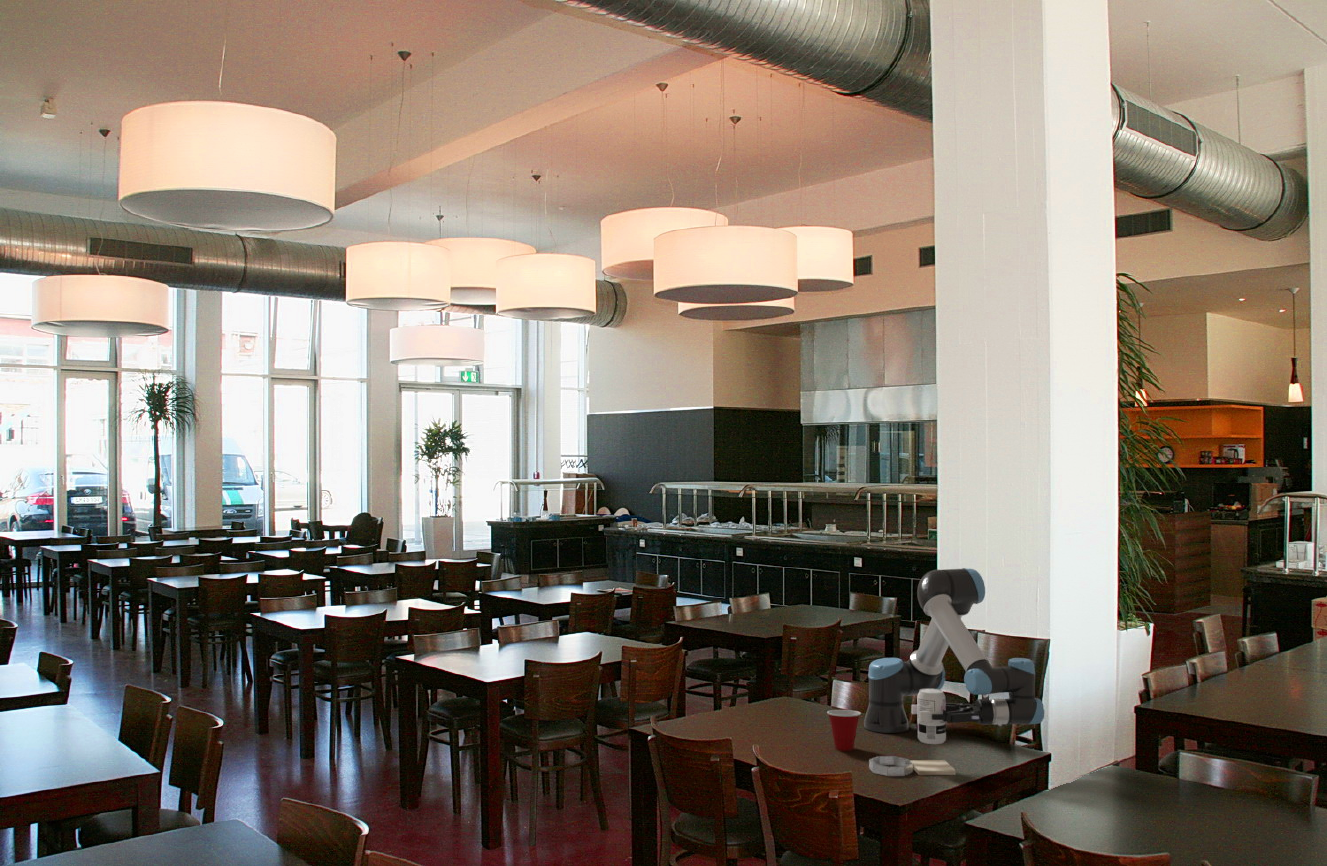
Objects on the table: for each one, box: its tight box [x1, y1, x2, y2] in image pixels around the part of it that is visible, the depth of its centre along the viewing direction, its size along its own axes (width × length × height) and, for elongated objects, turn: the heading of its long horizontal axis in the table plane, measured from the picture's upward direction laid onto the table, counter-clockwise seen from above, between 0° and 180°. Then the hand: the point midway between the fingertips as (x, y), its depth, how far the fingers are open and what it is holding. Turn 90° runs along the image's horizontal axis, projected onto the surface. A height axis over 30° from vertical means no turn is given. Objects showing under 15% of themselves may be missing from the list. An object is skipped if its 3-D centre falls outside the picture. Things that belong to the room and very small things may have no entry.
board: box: [909, 759, 957, 776], centre depth 313 cm, size 11×11×1 cm
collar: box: [868, 755, 914, 777], centre depth 313 cm, size 12×12×2 cm
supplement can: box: [916, 688, 947, 745], centre depth 314 cm, size 8×8×15 cm
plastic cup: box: [826, 709, 862, 752], centre depth 337 cm, size 11×11×12 cm
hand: (916, 712), depth 314 cm, fingers closed on supplement can, 8 cm apart
